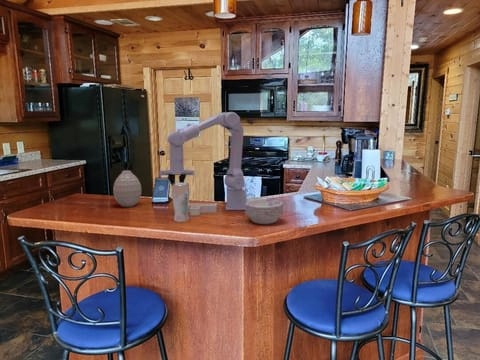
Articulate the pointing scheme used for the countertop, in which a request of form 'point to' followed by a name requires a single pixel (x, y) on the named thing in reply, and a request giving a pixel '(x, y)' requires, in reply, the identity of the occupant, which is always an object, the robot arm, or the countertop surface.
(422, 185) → the countertop surface
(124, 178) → the vase
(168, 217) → the countertop surface
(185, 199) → the beer glass
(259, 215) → the paper bowls
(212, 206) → the white striped box
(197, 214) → the stub
